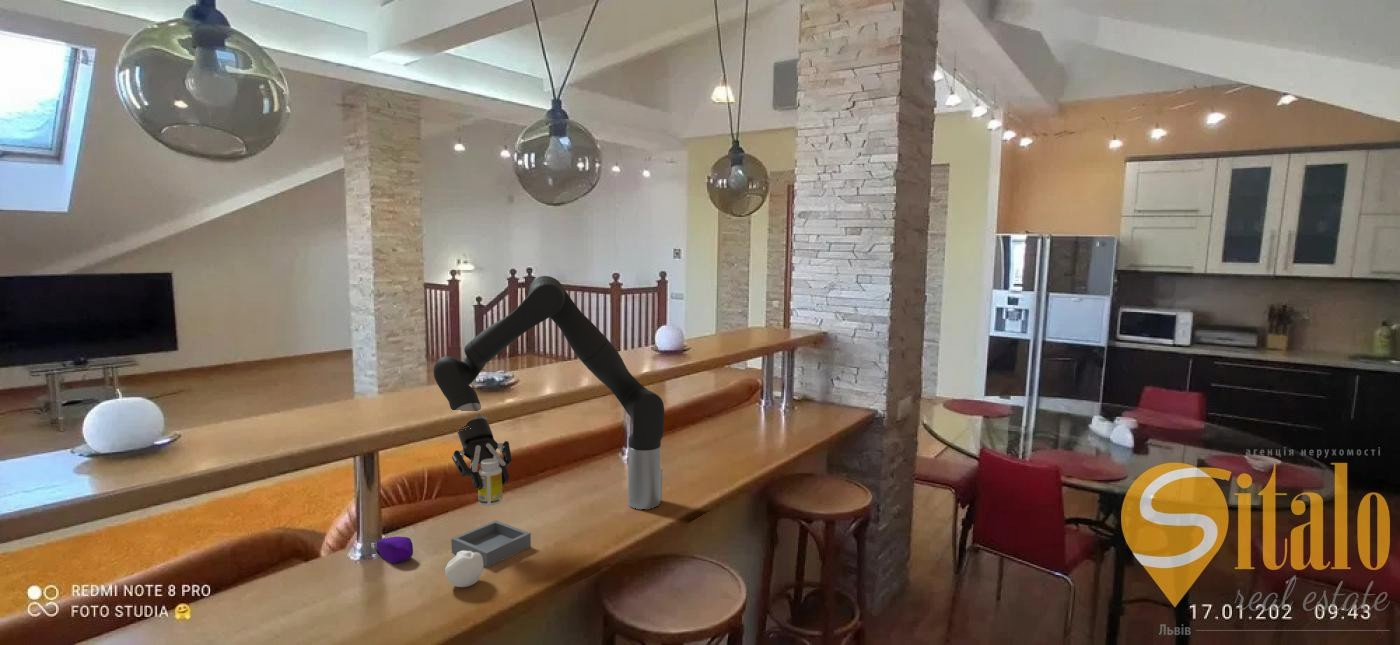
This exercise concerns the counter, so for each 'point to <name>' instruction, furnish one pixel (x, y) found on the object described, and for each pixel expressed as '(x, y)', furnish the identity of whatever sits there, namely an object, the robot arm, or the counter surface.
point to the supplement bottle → (490, 482)
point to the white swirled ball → (464, 568)
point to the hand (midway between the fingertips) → (493, 485)
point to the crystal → (395, 549)
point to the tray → (493, 542)
